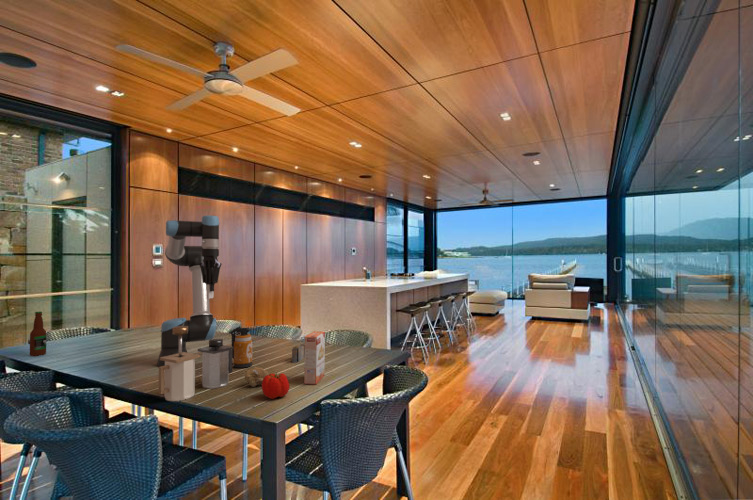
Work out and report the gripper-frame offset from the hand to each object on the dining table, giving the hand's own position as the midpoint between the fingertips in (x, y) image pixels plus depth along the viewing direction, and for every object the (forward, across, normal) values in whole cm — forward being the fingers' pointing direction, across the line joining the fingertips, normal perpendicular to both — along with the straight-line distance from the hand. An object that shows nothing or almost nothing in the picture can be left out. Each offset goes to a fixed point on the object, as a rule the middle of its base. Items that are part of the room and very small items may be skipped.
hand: (210, 298), depth 188 cm
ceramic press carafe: (+36, +14, -27) cm, 47 cm away
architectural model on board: (+37, +18, +43) cm, 59 cm away
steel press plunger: (+33, +14, -8) cm, 37 cm away
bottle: (+37, -124, -19) cm, 131 cm away
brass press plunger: (+25, +14, -25) cm, 38 cm away
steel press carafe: (+36, +14, -6) cm, 40 cm away
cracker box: (+37, +48, +18) cm, 63 cm away
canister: (+37, 0, +19) cm, 41 cm away
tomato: (+37, +48, -7) cm, 61 cm away
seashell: (+37, +30, +2) cm, 47 cm away
